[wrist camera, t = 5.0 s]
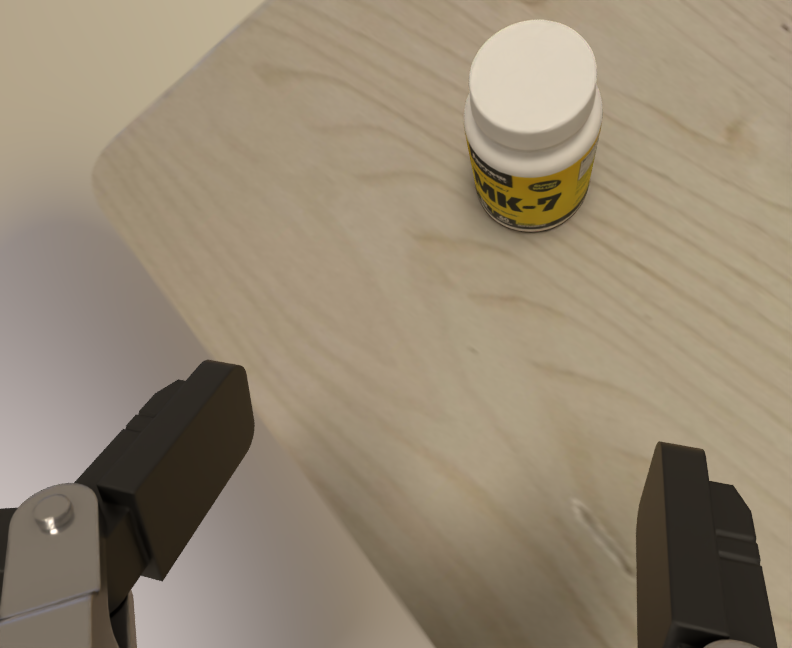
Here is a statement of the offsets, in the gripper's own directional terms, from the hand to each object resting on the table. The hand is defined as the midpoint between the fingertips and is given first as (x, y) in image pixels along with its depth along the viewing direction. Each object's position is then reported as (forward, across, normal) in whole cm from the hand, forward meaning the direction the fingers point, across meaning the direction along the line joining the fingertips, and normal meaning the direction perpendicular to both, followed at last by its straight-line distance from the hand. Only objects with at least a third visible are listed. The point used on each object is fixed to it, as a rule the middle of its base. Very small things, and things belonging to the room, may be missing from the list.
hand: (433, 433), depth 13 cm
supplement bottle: (+19, 0, +2) cm, 19 cm away
